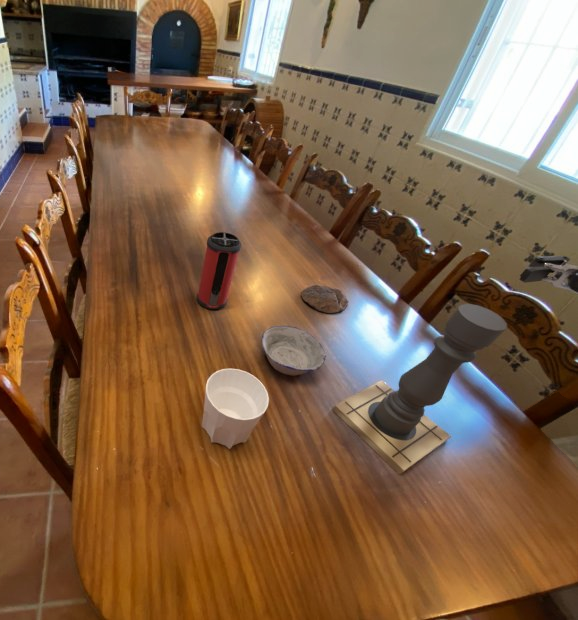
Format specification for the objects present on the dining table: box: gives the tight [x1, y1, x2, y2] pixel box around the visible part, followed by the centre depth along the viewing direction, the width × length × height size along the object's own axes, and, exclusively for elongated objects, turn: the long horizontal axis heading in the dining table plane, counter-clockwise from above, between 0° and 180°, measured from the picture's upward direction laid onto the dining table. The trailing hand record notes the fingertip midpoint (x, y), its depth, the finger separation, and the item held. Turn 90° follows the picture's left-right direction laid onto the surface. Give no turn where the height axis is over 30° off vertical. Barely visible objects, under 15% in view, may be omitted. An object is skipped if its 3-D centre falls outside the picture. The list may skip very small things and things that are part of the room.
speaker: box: [196, 231, 242, 310], centre depth 86 cm, size 8×8×18 cm
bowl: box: [261, 325, 327, 377], centre depth 75 cm, size 13×13×5 cm
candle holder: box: [374, 303, 508, 435], centre depth 57 cm, size 6×6×25 cm
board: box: [332, 379, 452, 475], centre depth 66 cm, size 14×14×2 cm
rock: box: [300, 284, 349, 314], centre depth 94 cm, size 11×12×3 cm
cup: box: [200, 367, 270, 450], centre depth 60 cm, size 10×10×10 cm
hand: (556, 292), depth 50 cm, fingers open, 8 cm apart
